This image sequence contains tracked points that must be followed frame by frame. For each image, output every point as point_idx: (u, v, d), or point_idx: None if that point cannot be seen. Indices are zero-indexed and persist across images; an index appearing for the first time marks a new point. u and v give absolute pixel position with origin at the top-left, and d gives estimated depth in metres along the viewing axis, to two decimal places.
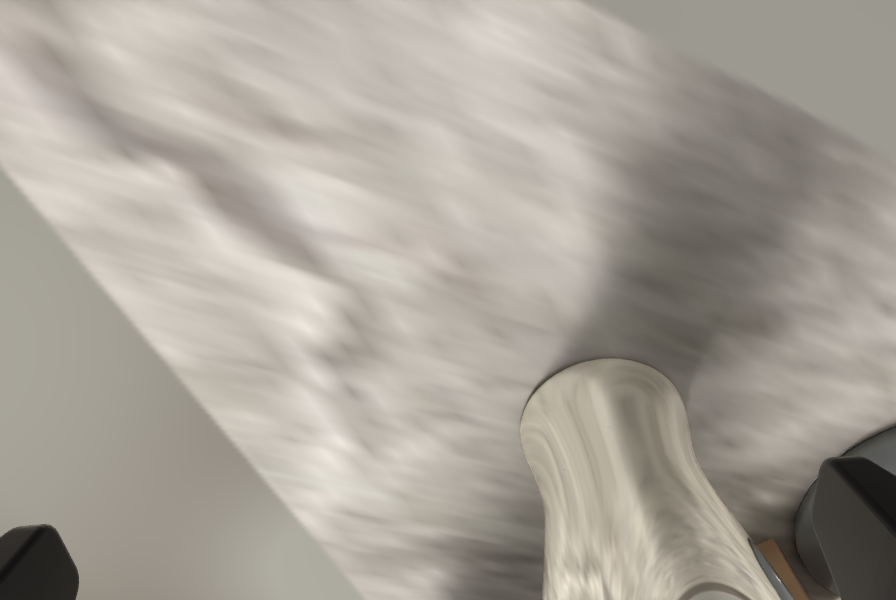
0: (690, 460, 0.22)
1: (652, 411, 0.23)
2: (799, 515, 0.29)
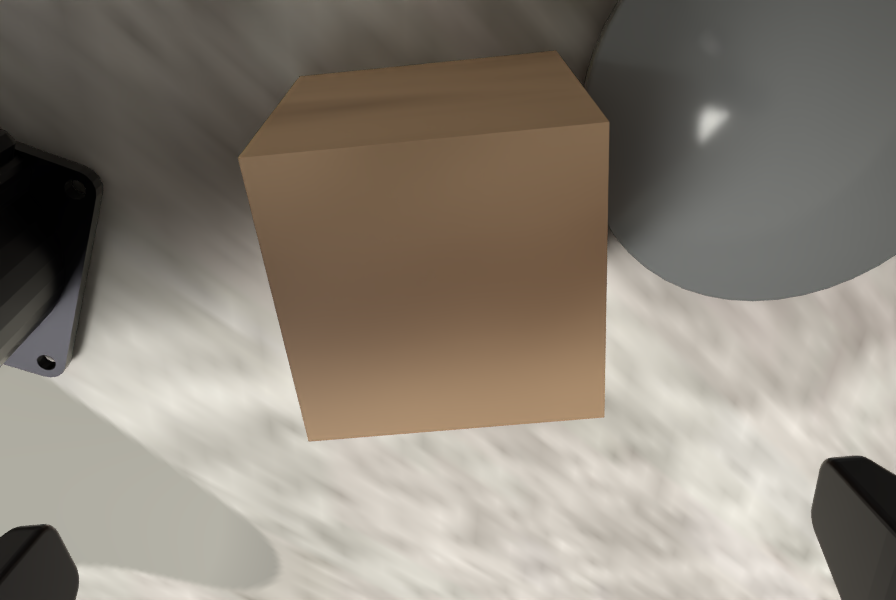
0: None
1: None
2: (618, 4, 0.16)
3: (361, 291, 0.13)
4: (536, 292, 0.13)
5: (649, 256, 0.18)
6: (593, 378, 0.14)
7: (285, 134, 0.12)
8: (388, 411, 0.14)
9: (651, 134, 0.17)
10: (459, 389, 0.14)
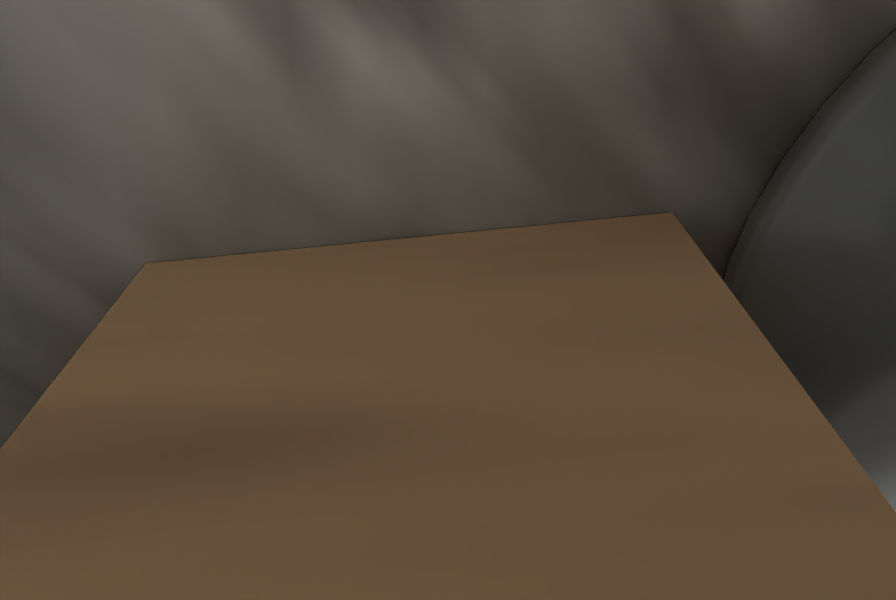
0: None
1: None
2: (818, 125, 0.07)
3: None
4: None
5: None
6: None
7: None
8: None
9: (861, 372, 0.08)
10: None
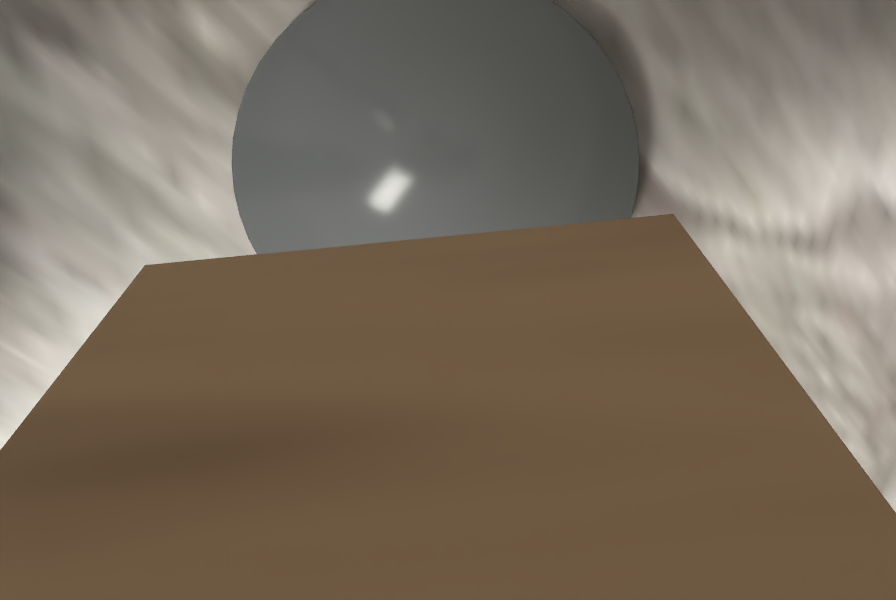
0: None
1: None
2: None
3: None
4: None
5: None
6: None
7: None
8: None
9: (301, 206, 0.18)
10: None
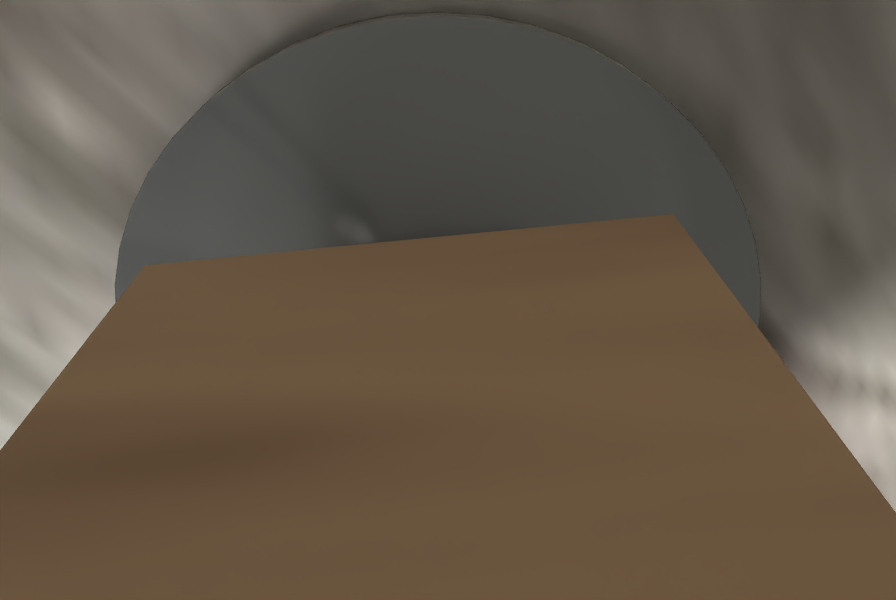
0: None
1: None
2: None
3: None
4: None
5: None
6: None
7: None
8: None
9: None
10: None
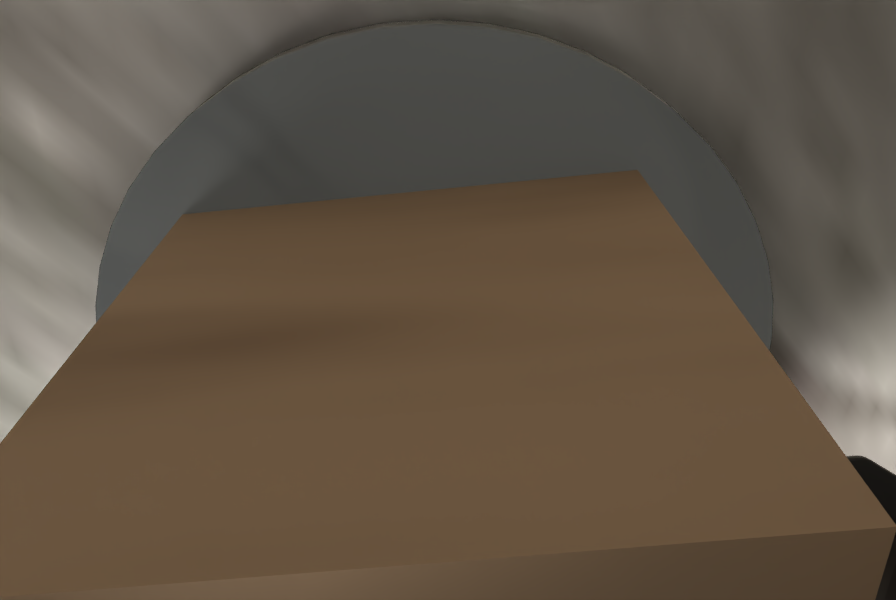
0: None
1: None
2: None
3: None
4: None
5: None
6: None
7: (51, 471, 0.05)
8: None
9: None
10: None
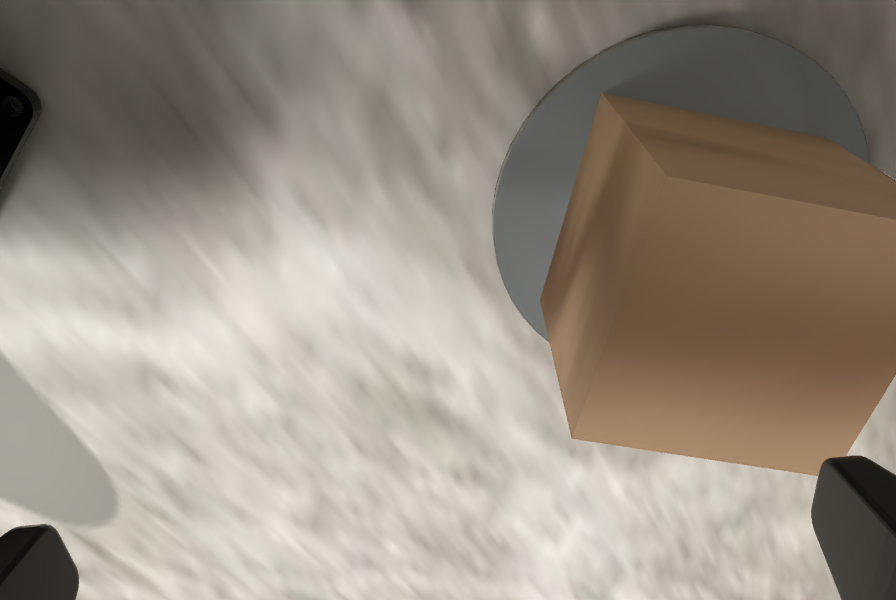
0: None
1: None
2: (554, 88, 0.18)
3: (699, 319, 0.14)
4: (841, 358, 0.14)
5: (528, 308, 0.21)
6: (843, 443, 0.15)
7: (681, 161, 0.13)
8: (656, 428, 0.15)
9: (555, 206, 0.19)
10: (729, 425, 0.15)
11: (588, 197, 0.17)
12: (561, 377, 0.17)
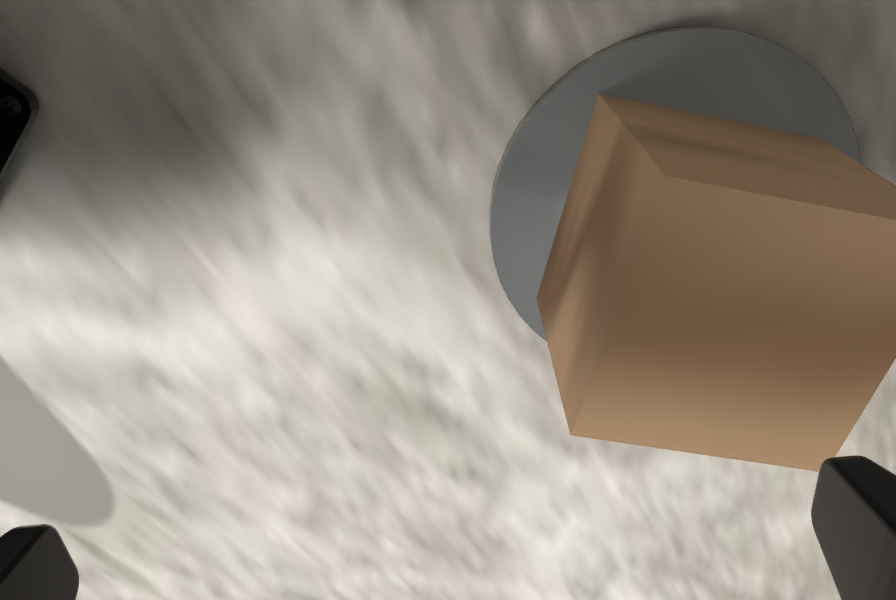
0: None
1: None
2: (551, 89, 0.18)
3: (697, 317, 0.14)
4: (835, 355, 0.15)
5: (525, 307, 0.21)
6: (836, 438, 0.16)
7: (678, 161, 0.14)
8: (654, 425, 0.15)
9: (551, 205, 0.19)
10: (725, 420, 0.15)
11: (584, 196, 0.17)
12: (559, 375, 0.17)
